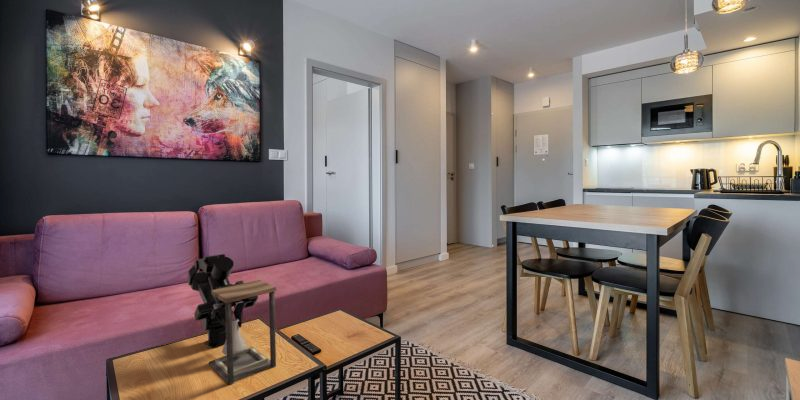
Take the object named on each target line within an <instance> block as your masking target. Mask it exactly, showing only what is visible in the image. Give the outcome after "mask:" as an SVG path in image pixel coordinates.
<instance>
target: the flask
mask: <svg viewBox="0 0 800 400" xmlns="http://www.w3.org/2000/svg"><path fill="white" fill-rule="evenodd" d="M238 322H239V319H235V318H232V338H233V355H235V354H238V353H241V352H243V351H244V350H246V349H247V348H248V345H247V344H246V342H245V339H244V338H243V335H242V333H241V330H240V328H239V326H238ZM221 353H222V354H223V355H224V356H226V355H227V346H226V341H225V344H223V348H222V351H221Z"/></svg>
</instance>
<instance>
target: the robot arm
mask: <svg viewBox="0 0 800 400" xmlns="http://www.w3.org/2000/svg"><path fill="white" fill-rule="evenodd" d="M233 268H234V261H233V259H232V258H231V257H228V256H226V254H225V253H223V254H214V255H207V256H204V257H202V258H198V259H195V260H194V265H193V266H192V267H190V269H189V270H188V273H187V284H188V286H189V287H190V288H191V289H192V290H193V291H196V292H198V293H199V296H200V297H201V300H202V303H200V304H198V305H197V306H196V309H195V311H194V318H195V321H197V322H198V321H201V325H202V328H203V329H204V331H205V332H206V331H207V334H208V335H207V336H208V338H207V340H205V341H204V342H203V343H204V344H205V345H207V346H208V347H210V348H211V349H213V348H214V349H215V348H217V347H221V346H222V345H223V346H224V344H225V341H226V312H225V302H223V301H222V300H220V299H218V298H217V297H215V296H214V295H212V292H211V290H215V289H220V288H225V287H229V286H234V285H239V284H243V283H244V281H243V280H237V281H236V282H235V283H234V284H233V283H231V282H230V280H229V277H230V276H231V275H232V274H231V273H232V271H233ZM200 270H202V271H200ZM258 299H259V295H258V296H254V297H250V298H246V299H241V300H237V301H233V302H231V303H232V308H234V310H232V315H234V319H239V322H238V327H239V329H240V328H242V324H243V323H242V321H243V320H242V318H243V310H244V309H246V308H251V307H254V306H255V305H256V303H257V301H258Z"/></svg>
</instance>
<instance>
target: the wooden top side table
mask: <svg viewBox="0 0 800 400" xmlns="http://www.w3.org/2000/svg"><path fill="white" fill-rule="evenodd" d="M276 291H277V286H274V285H273V284H270V283H267V282H266V281H263V280H261V279H259V280H253V281H248V282H243V284H239V285H234V286H229V287H225V288H220V289H215V290H211V292H212V295H214V296H215V297H217V298H218V299H220V300H222V301H223V302H225V312H226V346H227V355H223V356H220V357H218V358H214V359H213V360H210V361H208V365H210V367H212V368H213V370H214V371H215V372H217V374H219V376H221V378H223V379H224V381H225V382H226V383H227V385H228V386H231V385H233V384H235V382H236V381H237V382H238V381H239V380H241V379H244V378H245V379H246V378H248V377H249V376H252V375H255V374H257V373H260V372H263V371H265V370H268V369H270V368H275V367H276V366H277V352H276V350H277V347H276V346H277V345H276V308H275V307H276V305H275V304H276V302H275V298H276V297H275V294H276ZM265 294H268V306H269V307H268V308H269V309H268V310H269V313H268V314H269V353H270V355H269V356H270V357H269V358H270V359H269V358H268V357H266V356H265V355H264V354H263V353H261V352H260V351H259V350H257V349H255V348H254V347H253V346H250V347H247V349H246V350H244V351H243V352H241V353H238V354H235V355H233V338H232V319H233V314H232V311H233V309H232V308H233V307H232V303H231V302H233V301H237V300H241V299H246V298H250V297H254V296H258V297H259V296H261V295H265Z"/></svg>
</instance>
